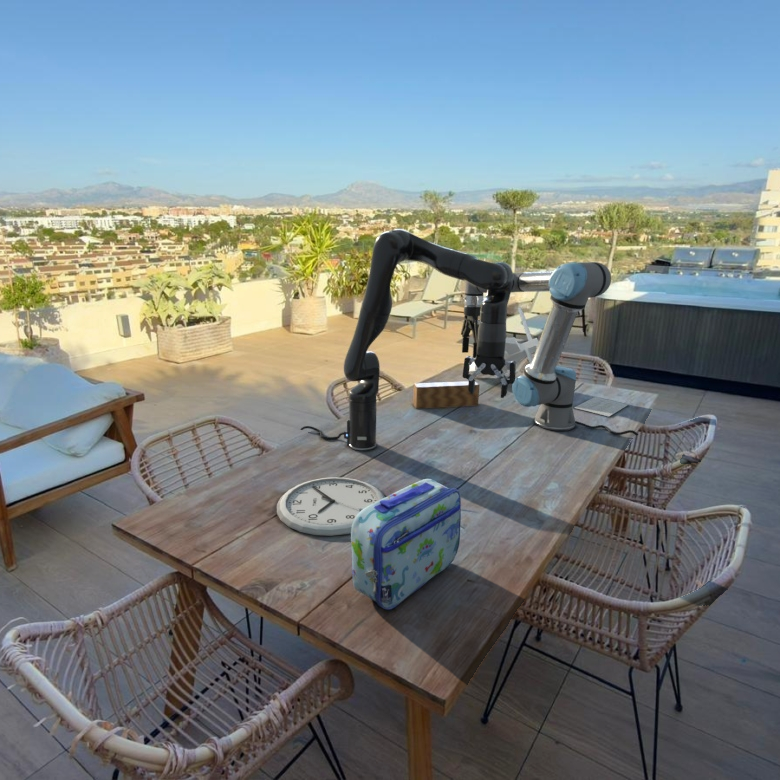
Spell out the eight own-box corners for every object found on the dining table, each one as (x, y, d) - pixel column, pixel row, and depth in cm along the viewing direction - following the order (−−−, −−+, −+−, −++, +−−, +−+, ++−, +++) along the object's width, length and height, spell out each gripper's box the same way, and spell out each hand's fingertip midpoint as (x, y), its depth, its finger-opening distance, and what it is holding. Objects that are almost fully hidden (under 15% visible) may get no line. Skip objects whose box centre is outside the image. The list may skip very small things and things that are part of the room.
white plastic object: (487, 418, 267) (468, 395, 242) (469, 346, 289) (449, 318, 264) (558, 394, 255) (545, 368, 230) (533, 321, 277) (518, 289, 252)
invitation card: (608, 416, 214) (573, 407, 224) (608, 416, 214) (573, 408, 224) (628, 404, 229) (594, 396, 238) (628, 405, 229) (594, 397, 238)
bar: (473, 401, 231) (474, 380, 228) (478, 405, 225) (479, 384, 222) (413, 404, 226) (413, 383, 223) (416, 408, 220) (417, 387, 217)
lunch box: (380, 623, 100) (381, 528, 94) (344, 596, 108) (343, 505, 101) (464, 565, 118) (470, 482, 112) (428, 545, 125) (432, 466, 119)
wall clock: (392, 527, 129) (268, 531, 127) (391, 533, 130) (269, 537, 127) (383, 473, 158) (282, 475, 155) (383, 478, 158) (282, 480, 156)
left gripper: (462, 338, 141) (459, 395, 146) (516, 343, 136) (510, 402, 141) (469, 333, 147) (465, 388, 152) (520, 338, 142) (515, 394, 147)
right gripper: (455, 301, 226) (452, 349, 232) (475, 310, 202) (471, 363, 208) (471, 301, 227) (468, 349, 233) (493, 310, 204) (489, 362, 210)
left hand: (487, 395), depth 146 cm, fingers open, 8 cm apart
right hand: (470, 356), depth 221 cm, fingers open, 13 cm apart
